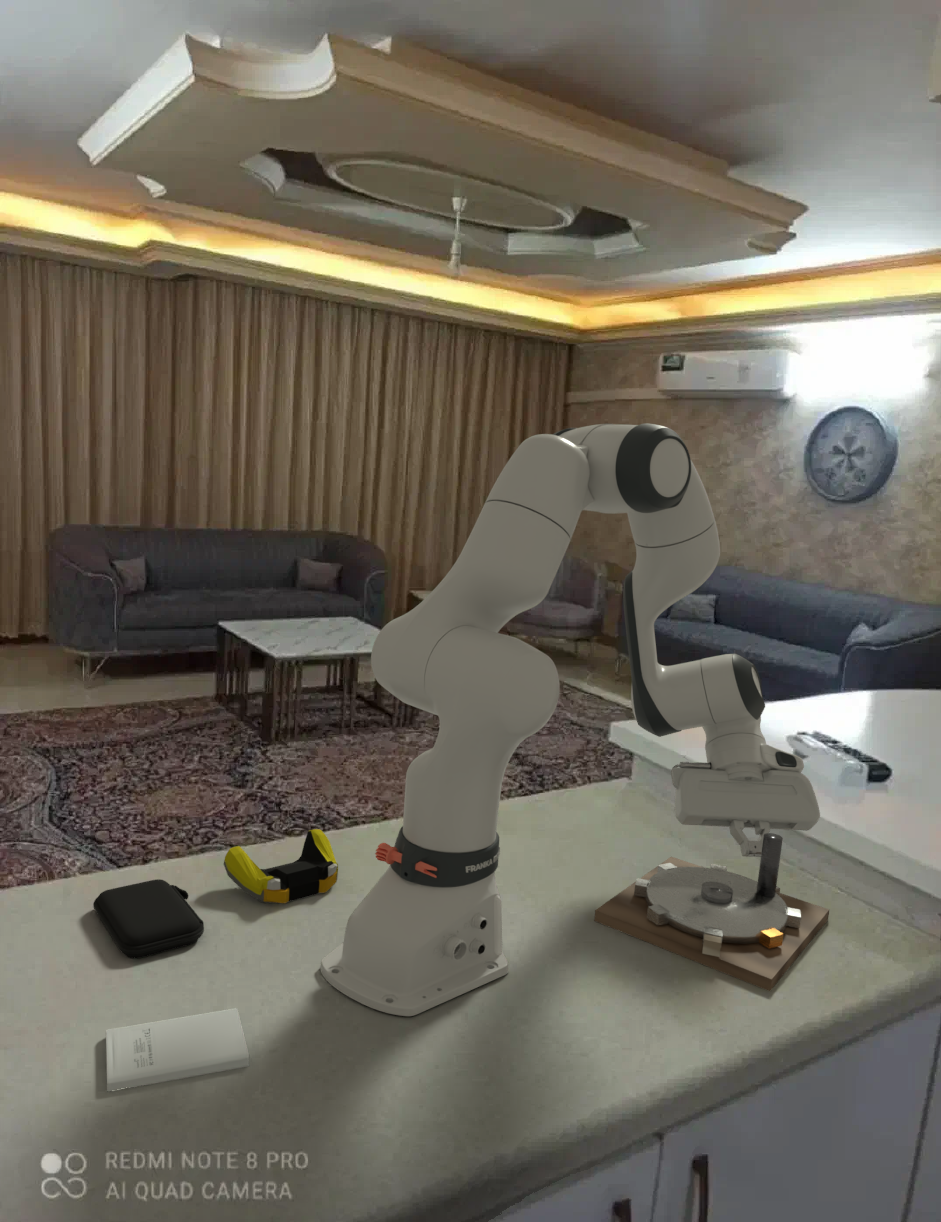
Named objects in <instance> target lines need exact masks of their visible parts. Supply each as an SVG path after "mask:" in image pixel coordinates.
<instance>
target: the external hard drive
mask: <svg viewBox="0 0 941 1222" xmlns="http://www.w3.org/2000/svg"><path fill="white" fill-rule="evenodd" d="M105 1057H106V1063H105V1065H106V1092H107V1091H112V1090H117V1089H121V1088H126V1087H127V1088H128V1089H132V1088H131V1087H134V1088H138V1087H137V1086H139V1087H145V1086H149V1085H157V1084H161V1083H166V1082H171V1081H177V1080H183V1079H187V1078H192V1077H199V1076H203V1075H208V1074H209V1075H210V1074H214V1073H220V1072H225V1071H230V1070H236V1069H241V1068H246V1067H249V1066H250V1054H249V1048H248V1044H247V1041H246V1037H245V1033H244V1028H243V1025H242V1021H241V1017H240V1013H239V1010H238V1007H234V1008H233V1007H232V1008H229V1009H228V1008H227V1009H223V1010H216V1011H211V1012H204V1013H199V1014H192V1015H185V1016H182V1017H181V1016H179V1017H174V1018H168V1019H163V1020H156V1021H151V1022H145V1023H139V1024H133V1025H132V1024H131V1025H128V1026H127V1025H126V1026H121V1027H114V1028H108V1029H105ZM141 1085H142V1086H141ZM144 1085H145V1086H144ZM129 1087H130V1088H129ZM112 1092H113V1091H112Z"/></svg>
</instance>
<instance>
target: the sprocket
mask: <svg viewBox="0 0 941 1222" xmlns="http://www.w3.org/2000/svg"><path fill="white" fill-rule="evenodd" d="M783 839H784V838H783V836H781V835H779V834H776V833H772V832H769V833H766V834H764V837H763V845H762V852H761V857H760V859H759V860H760V861H759V868H758V869H759V870H758V876H757V880H754V879H752V878H750V877H747V876H744V875H741V874H738V873H735V872H732V871H727V869H728V866H726V865H725V866H724V865H720V864H719V865H718V864H714V863H711V864H710V867H705V866H704V867H703V866H701V867H676V866H675V865H673V864H671V863H666V864H661V863H660V864H661V865H660V864H658V865H657V866H658V871H657V873H656V874H655V875H653V876H652V877H651V878H650V879H649V880H645V879H640V878H641V877H639V878H638V877H637V878H636V880H635V882H636V883H635V890H634V895H635V896H640V897H645V898H646V901H647V904H648V911H647V918H648V919H649V920H651V921H652V922H653V923H655V924H656V925H658V926H659V925H664V924H669V925H671V926H673V927H675V928H677V929H679V930H681V931H684V932H686V933H689V934H692V935H695V936H698V937H701V938H703V942H704V934H707V935H712V936H717V937H722V939H721V945H722V942H727V943H742V944H746V943H758V942H759V943H761V944H762V945H764V946H765V947H767V948H768V949H770V948H774V947H778V946H782V941H783V932H784V930H785V929H786V926H790V927H795V928H800V921H801V913H800V910H799V909H794V908H789V907H787V905H786V903H785V902H784V900H783V899H782V898H781V897H780V896H779V894H780V893H781V887H779V886H777V883H778V877H779V870H780V869H779V868H780V862H781V853H782V848H783V847H782V846H783V841H784V840H783ZM702 944H703V943H702Z"/></svg>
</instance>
